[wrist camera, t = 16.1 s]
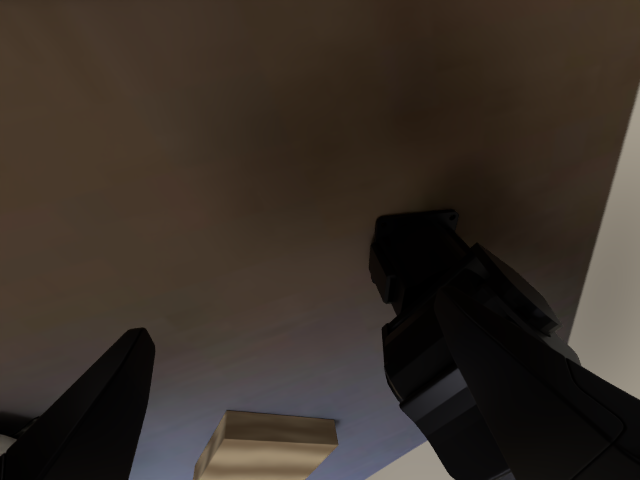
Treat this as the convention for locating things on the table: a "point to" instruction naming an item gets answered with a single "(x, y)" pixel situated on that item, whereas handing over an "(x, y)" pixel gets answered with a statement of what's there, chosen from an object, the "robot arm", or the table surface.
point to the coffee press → (12, 437)
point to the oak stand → (265, 447)
